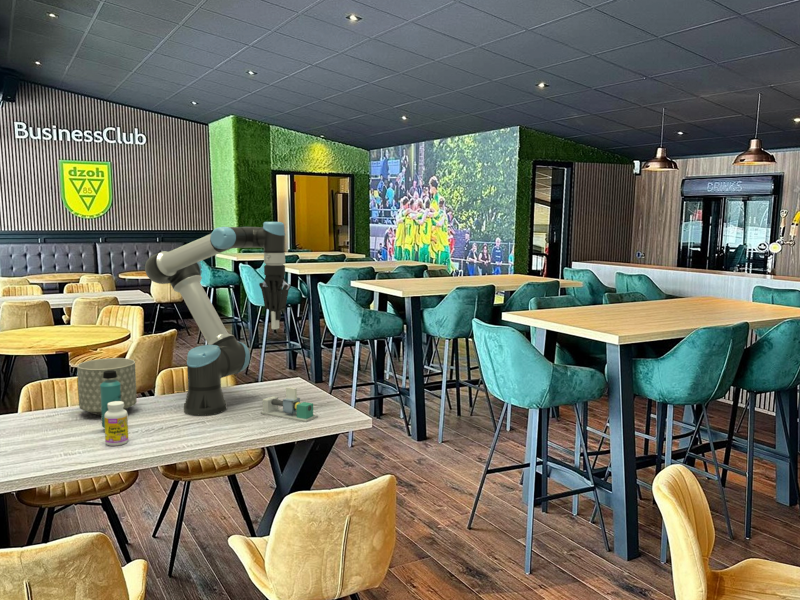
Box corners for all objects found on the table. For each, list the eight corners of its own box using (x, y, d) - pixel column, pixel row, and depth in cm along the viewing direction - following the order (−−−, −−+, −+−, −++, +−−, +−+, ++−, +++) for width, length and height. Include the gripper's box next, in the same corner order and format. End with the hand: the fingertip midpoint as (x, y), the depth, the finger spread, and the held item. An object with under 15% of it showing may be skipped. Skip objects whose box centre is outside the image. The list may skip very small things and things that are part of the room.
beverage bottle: (102, 434, 213) (99, 374, 210) (101, 428, 219) (98, 369, 216) (123, 431, 216) (121, 372, 213) (122, 425, 222) (119, 368, 219)
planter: (138, 403, 249) (136, 356, 247) (135, 417, 231) (133, 367, 229) (83, 407, 243) (81, 359, 241) (75, 422, 225) (73, 370, 223)
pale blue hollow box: (283, 412, 233) (282, 388, 232) (290, 408, 237) (290, 385, 236) (292, 413, 231) (291, 390, 230) (299, 410, 235) (299, 387, 234)
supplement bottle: (105, 447, 200) (103, 406, 199) (105, 440, 206) (103, 401, 205) (128, 444, 203) (127, 404, 201) (128, 438, 209) (126, 399, 207)
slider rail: (261, 413, 237) (260, 399, 236) (273, 409, 243) (273, 395, 242) (306, 422, 227) (305, 407, 227) (317, 417, 233) (317, 402, 233)
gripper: (253, 264, 236) (254, 328, 239) (282, 265, 230) (283, 331, 233) (267, 263, 243) (268, 325, 245) (295, 264, 237) (296, 328, 239)
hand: (275, 328), depth 239 cm, fingers closed
